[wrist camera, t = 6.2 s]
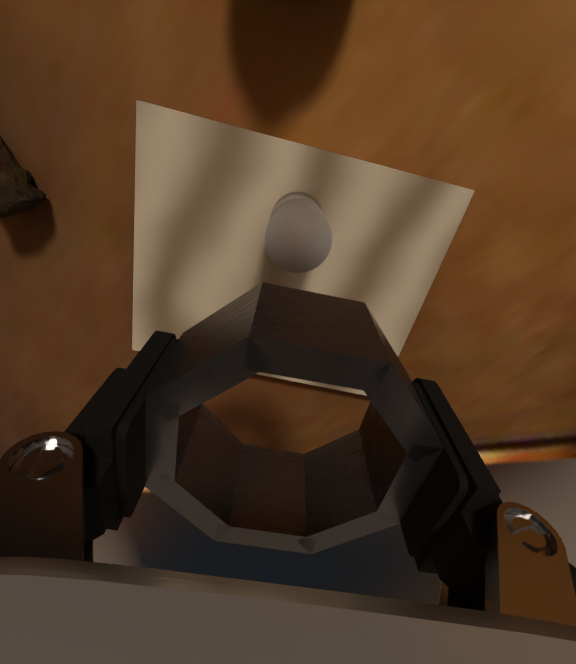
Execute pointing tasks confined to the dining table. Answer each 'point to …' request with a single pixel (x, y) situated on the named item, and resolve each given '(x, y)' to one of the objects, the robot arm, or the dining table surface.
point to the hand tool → (15, 185)
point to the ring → (275, 465)
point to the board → (233, 219)
